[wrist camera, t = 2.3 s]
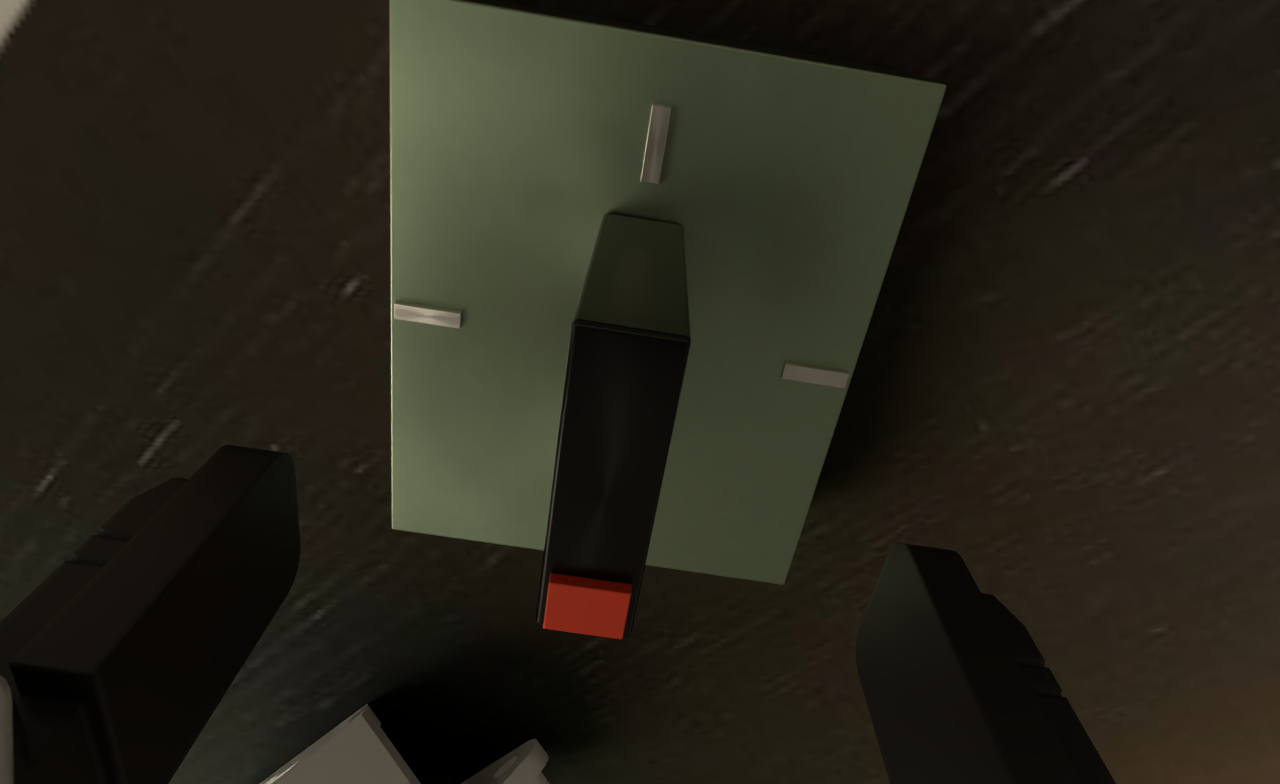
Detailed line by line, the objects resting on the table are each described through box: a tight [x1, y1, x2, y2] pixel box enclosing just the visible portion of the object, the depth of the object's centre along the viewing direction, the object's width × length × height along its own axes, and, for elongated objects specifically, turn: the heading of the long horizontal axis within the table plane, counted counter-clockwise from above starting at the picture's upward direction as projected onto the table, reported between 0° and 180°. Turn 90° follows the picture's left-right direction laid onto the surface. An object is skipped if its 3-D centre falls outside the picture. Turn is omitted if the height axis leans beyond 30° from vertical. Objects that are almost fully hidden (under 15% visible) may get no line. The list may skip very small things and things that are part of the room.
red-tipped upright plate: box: [536, 213, 691, 639], centre depth 13 cm, size 6×2×6 cm, turn 171°
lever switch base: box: [389, 0, 946, 585], centre depth 17 cm, size 12×10×3 cm
